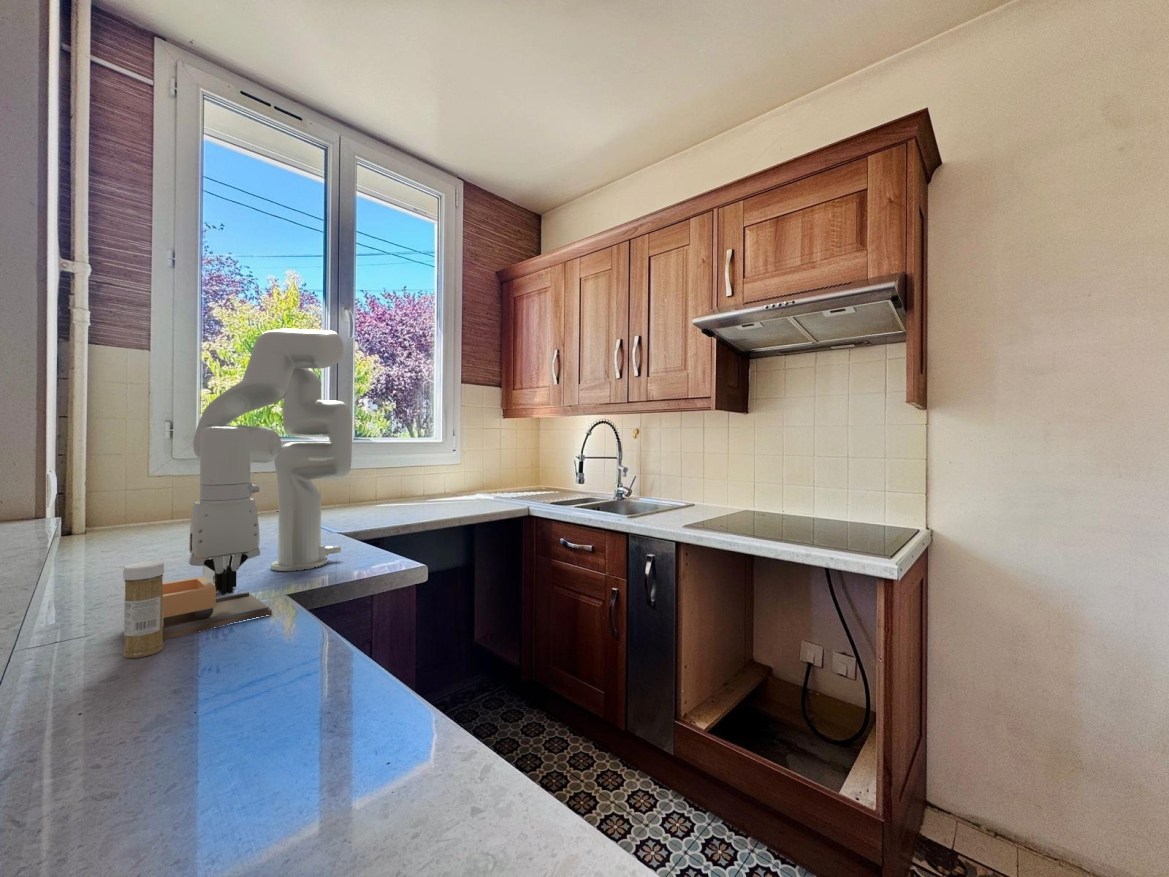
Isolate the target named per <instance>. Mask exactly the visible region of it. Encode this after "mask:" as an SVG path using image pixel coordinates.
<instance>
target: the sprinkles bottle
mask: <svg viewBox="0 0 1169 877" xmlns="http://www.w3.org/2000/svg"><path fill="white" fill-rule="evenodd" d="M122 574H123V579H124V581H123V582H124V585H125V586H124V612H123V613H124V618H123V620H124V621H123V622H124V623H123V624H124V628H123V629H124V630H123V631H124V632H123V633H124V634H123V635H124V652H123V657H125V658H127V659H135V658H137V659H138V658H144V657H147V656H151V655H154V654H157V653H158V652H161V651H162V650H163V649H164V644H163V640H162V639H163V637H162V635H163V634H162V633H163V631H162V628H163V594H162V593H163V588H162V585H163V584H162V583H163V577H164V574H165V564H164V562H163V561H162V560H147V561H140V562H133V563H130V564H127V565H125V566H124V567H123V573H122Z"/></svg>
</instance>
